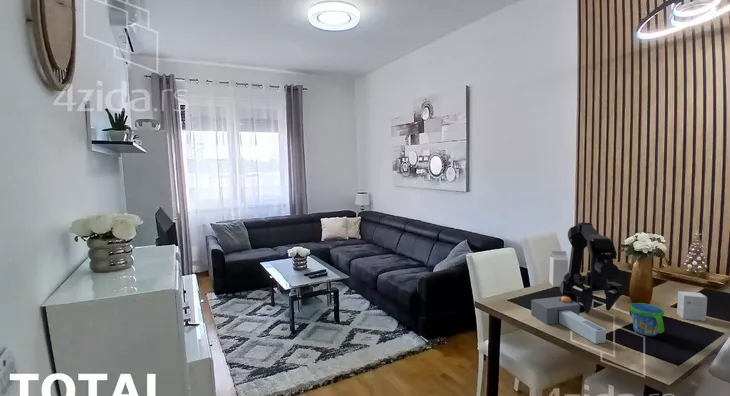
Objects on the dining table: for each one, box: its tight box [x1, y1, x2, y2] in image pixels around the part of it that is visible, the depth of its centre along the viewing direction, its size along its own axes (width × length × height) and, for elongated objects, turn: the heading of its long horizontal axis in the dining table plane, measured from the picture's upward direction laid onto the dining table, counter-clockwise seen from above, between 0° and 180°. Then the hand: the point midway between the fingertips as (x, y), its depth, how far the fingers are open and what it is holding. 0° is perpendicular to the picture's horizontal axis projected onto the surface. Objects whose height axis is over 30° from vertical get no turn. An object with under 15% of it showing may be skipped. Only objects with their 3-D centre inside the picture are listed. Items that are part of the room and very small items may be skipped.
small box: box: [676, 290, 708, 322], centre depth 156 cm, size 8×6×10 cm
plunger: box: [561, 295, 571, 303], centre depth 160 cm, size 4×4×3 cm
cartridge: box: [558, 310, 607, 345], centre depth 145 cm, size 4×19×5 cm, turn 12°
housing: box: [530, 295, 581, 325], centre depth 159 cm, size 16×10×7 cm, turn 102°
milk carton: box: [548, 250, 569, 288], centre depth 199 cm, size 7×7×19 cm
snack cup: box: [629, 302, 665, 337], centre depth 144 cm, size 16×10×10 cm
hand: (597, 311), depth 137 cm, fingers open, 9 cm apart
